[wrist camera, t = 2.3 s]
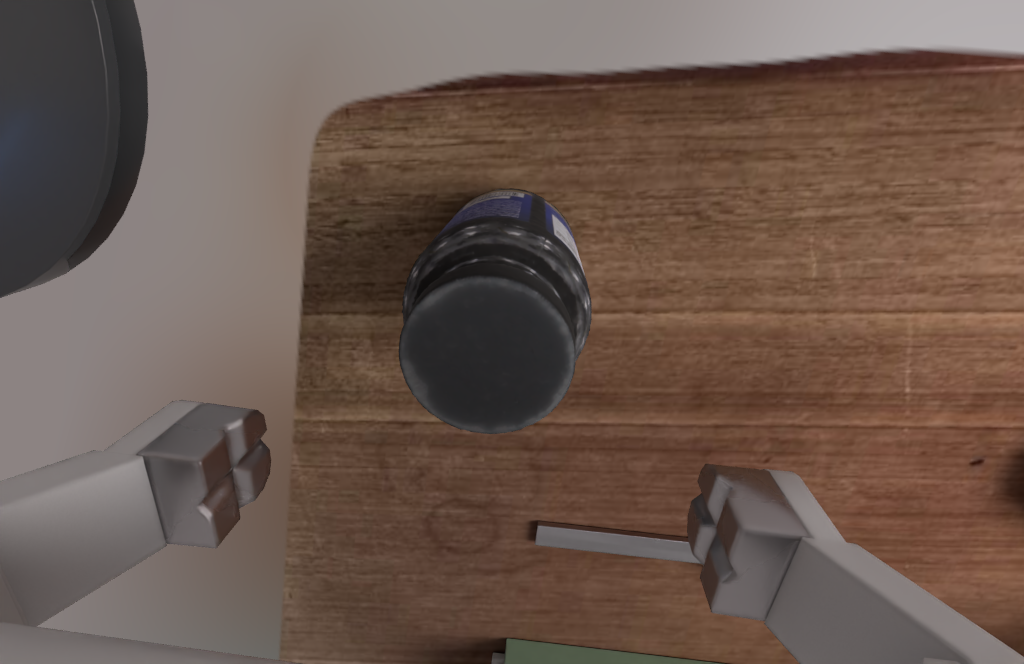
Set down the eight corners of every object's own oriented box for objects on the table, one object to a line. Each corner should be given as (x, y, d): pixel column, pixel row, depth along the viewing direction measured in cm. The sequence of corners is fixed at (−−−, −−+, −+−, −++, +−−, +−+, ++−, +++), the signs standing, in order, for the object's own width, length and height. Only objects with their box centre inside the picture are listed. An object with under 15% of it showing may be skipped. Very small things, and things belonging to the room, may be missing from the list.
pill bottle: (429, 287, 24) (344, 413, 13) (469, 164, 21) (402, 205, 11) (546, 331, 24) (548, 483, 14) (598, 216, 22) (646, 300, 12)
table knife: (534, 543, 30) (534, 556, 29) (538, 516, 29) (538, 529, 28) (844, 578, 30) (853, 593, 29) (857, 552, 29) (868, 566, 28)
